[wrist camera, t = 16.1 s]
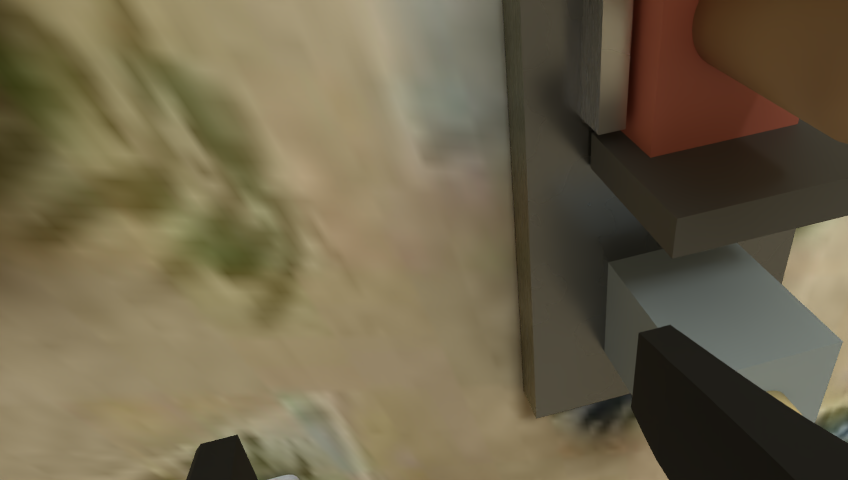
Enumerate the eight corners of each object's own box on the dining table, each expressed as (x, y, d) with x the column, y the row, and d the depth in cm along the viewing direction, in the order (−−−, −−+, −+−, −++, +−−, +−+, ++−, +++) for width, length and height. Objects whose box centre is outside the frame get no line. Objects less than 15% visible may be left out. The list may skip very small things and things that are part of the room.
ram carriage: (770, 126, 21) (943, 239, 15) (590, 167, 20) (708, 299, 15) (818, -110, 17) (1073, -66, 12) (597, -69, 16) (761, -1, 11)
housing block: (710, 323, 25) (836, 469, 20) (604, 351, 25) (703, 508, 20) (726, 232, 23) (875, 372, 17) (608, 262, 22) (723, 414, 17)
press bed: (740, 334, 29) (781, 378, 26) (523, 390, 28) (547, 442, 25) (863, -218, 17) (953, -219, 15) (494, -154, 16) (533, -145, 14)
